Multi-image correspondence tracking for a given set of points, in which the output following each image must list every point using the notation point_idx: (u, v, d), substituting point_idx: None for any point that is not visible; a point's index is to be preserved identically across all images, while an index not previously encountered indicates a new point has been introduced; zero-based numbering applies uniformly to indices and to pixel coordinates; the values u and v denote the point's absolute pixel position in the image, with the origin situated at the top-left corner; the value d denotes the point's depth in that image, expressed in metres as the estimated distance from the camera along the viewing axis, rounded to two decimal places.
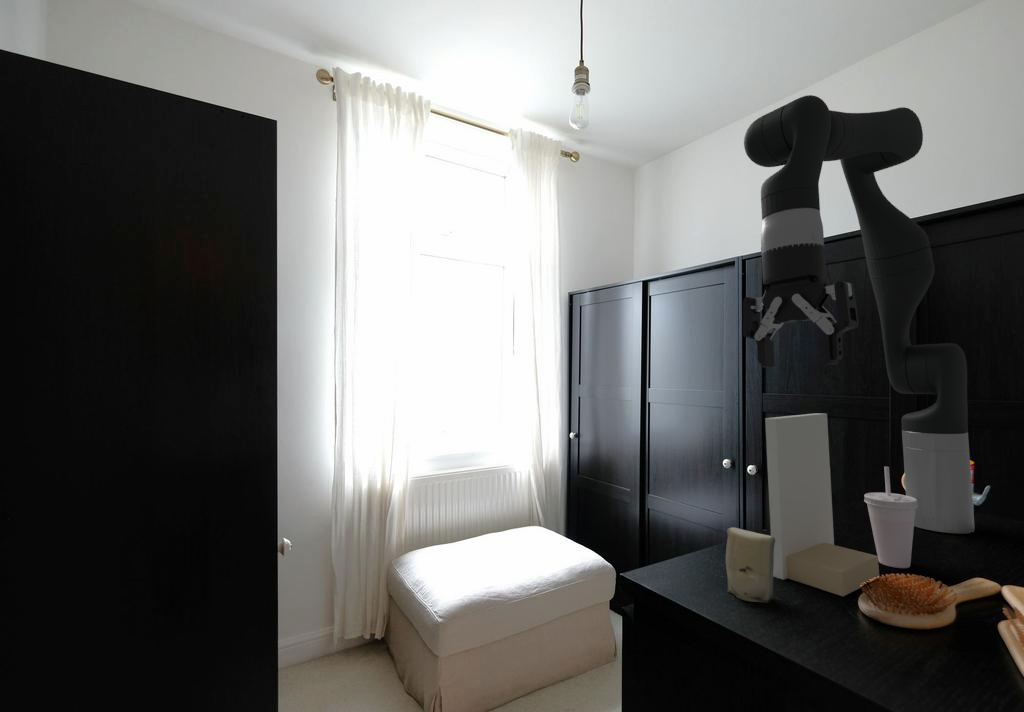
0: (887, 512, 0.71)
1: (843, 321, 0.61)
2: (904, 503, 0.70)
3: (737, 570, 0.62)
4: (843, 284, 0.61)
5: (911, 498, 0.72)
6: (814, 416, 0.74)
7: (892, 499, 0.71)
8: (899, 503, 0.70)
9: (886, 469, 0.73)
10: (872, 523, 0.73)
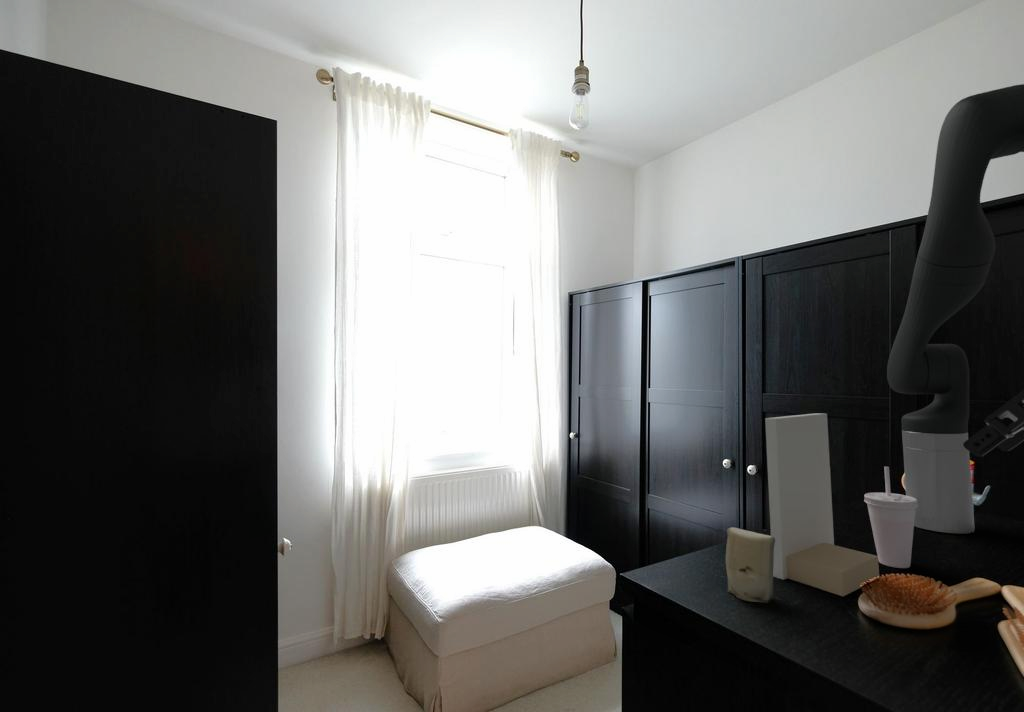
0: (887, 512, 0.71)
1: None
2: (904, 503, 0.70)
3: (737, 570, 0.62)
4: None
5: (911, 498, 0.72)
6: (814, 416, 0.74)
7: (892, 499, 0.71)
8: (899, 503, 0.70)
9: (886, 469, 0.73)
10: (872, 523, 0.73)
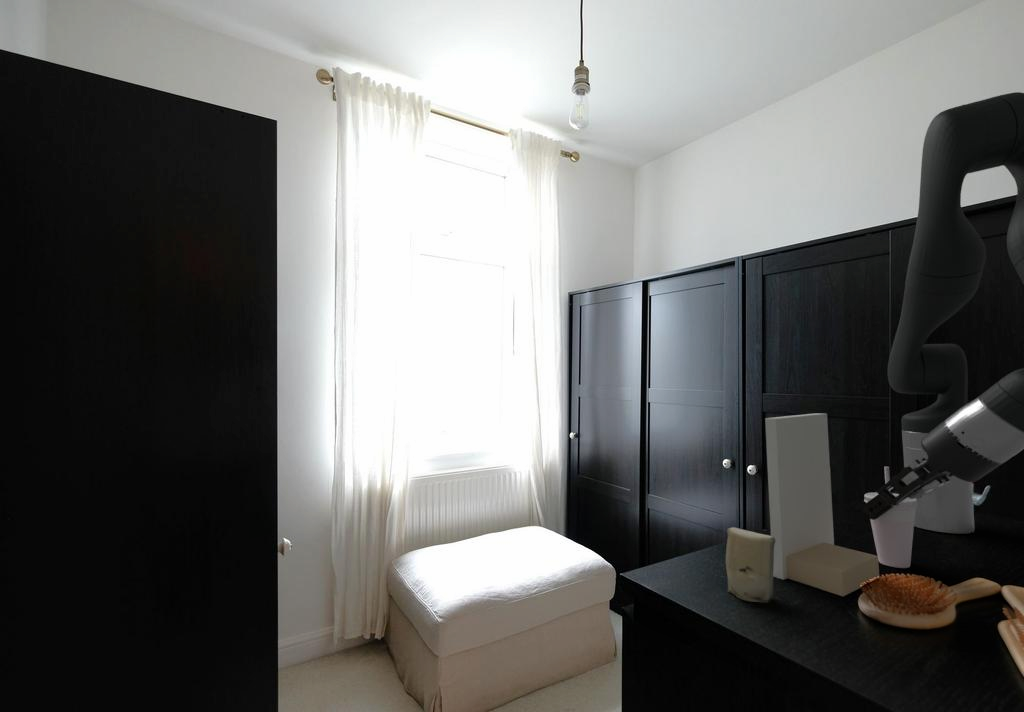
0: (887, 512, 0.71)
1: None
2: (904, 503, 0.70)
3: (737, 570, 0.62)
4: None
5: None
6: (814, 416, 0.74)
7: None
8: (899, 503, 0.70)
9: (886, 469, 0.73)
10: (872, 523, 0.73)
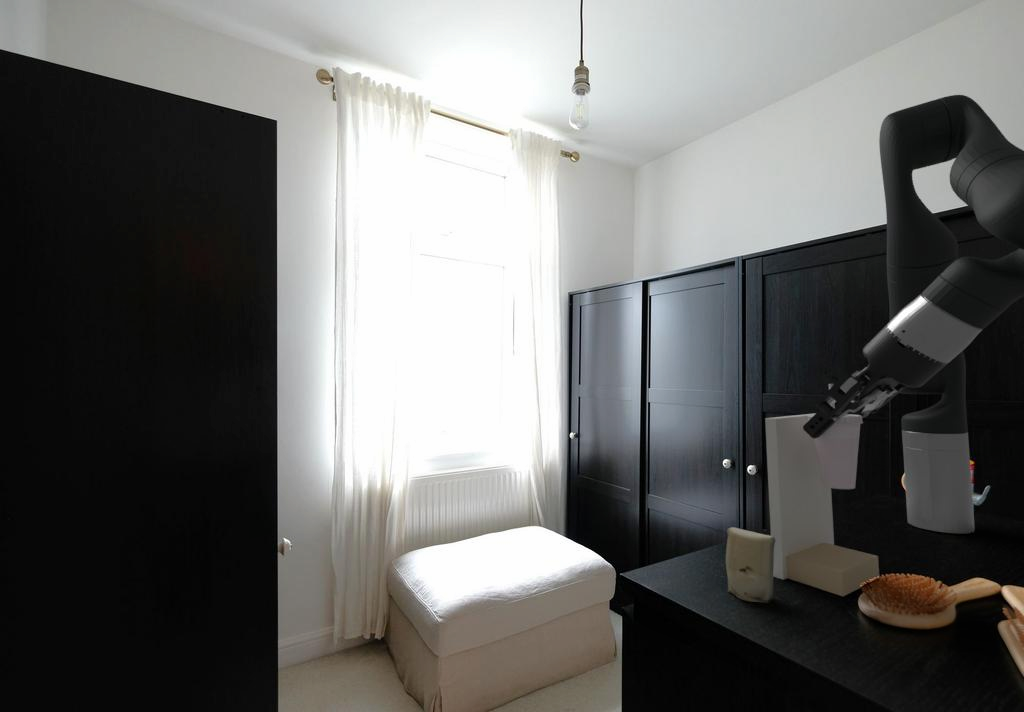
0: (829, 430, 0.66)
1: (876, 410, 0.68)
2: (847, 418, 0.65)
3: (737, 570, 0.62)
4: (906, 386, 0.66)
5: (856, 415, 0.67)
6: None
7: None
8: (842, 418, 0.65)
9: (830, 386, 0.68)
10: (816, 443, 0.68)
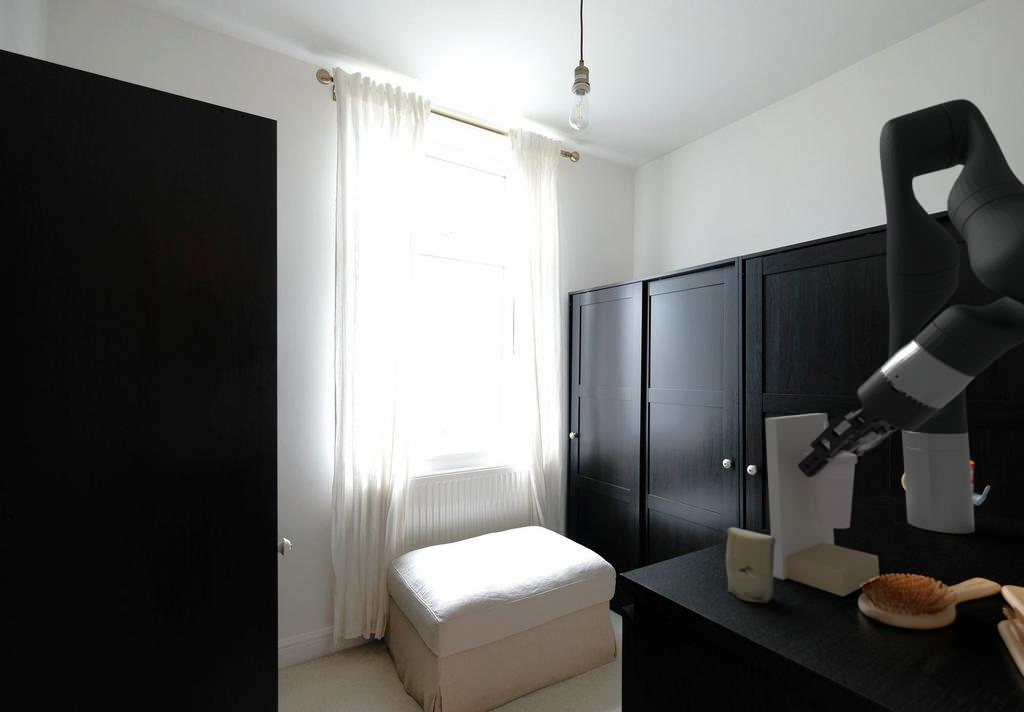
0: (824, 469, 0.66)
1: (871, 448, 0.69)
2: (841, 458, 0.65)
3: (737, 570, 0.62)
4: None
5: (851, 454, 0.67)
6: (814, 416, 0.74)
7: None
8: (836, 458, 0.65)
9: (826, 424, 0.69)
10: (811, 482, 0.68)
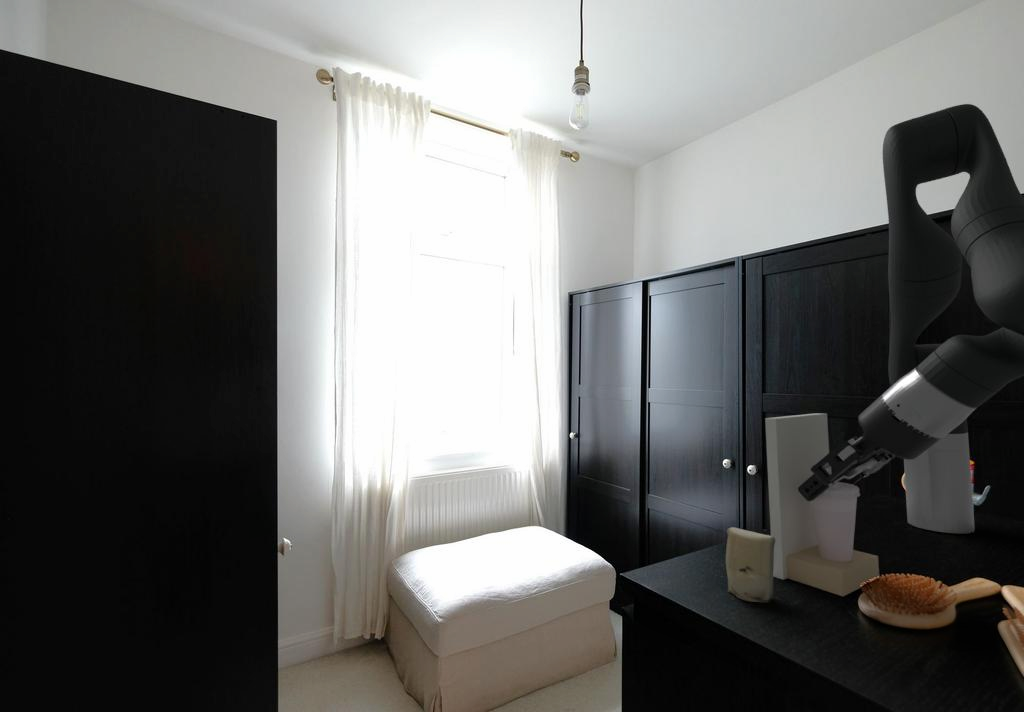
0: (826, 502, 0.66)
1: (877, 470, 0.69)
2: (844, 492, 0.65)
3: (737, 570, 0.62)
4: None
5: (853, 486, 0.67)
6: (814, 416, 0.74)
7: (832, 488, 0.66)
8: (838, 492, 0.65)
9: None
10: (813, 513, 0.68)
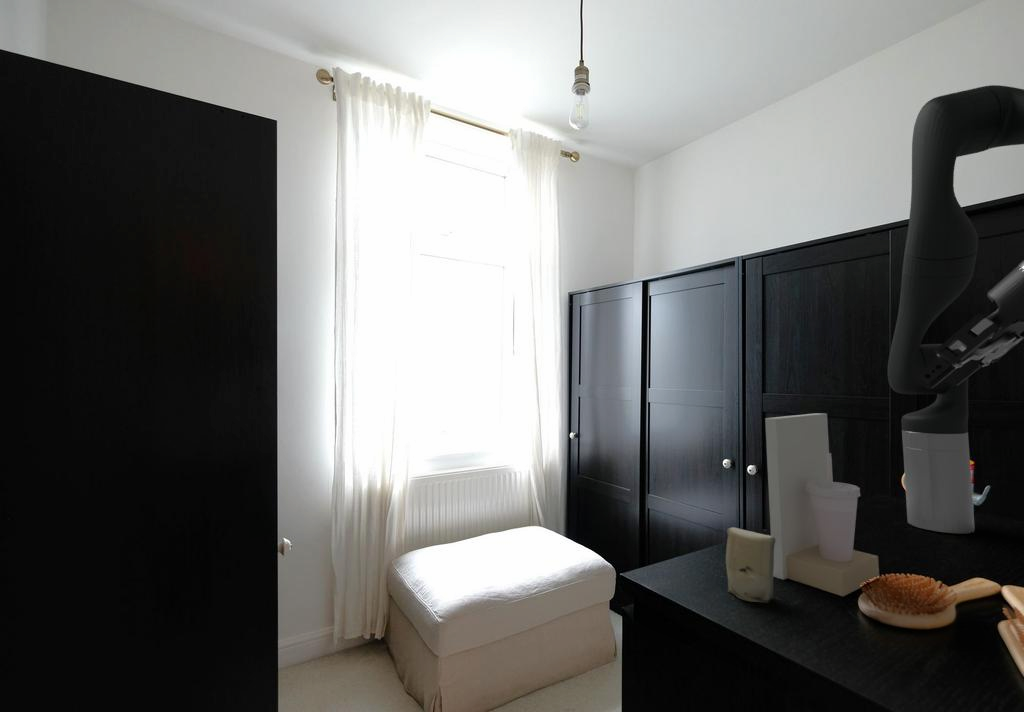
0: (827, 502, 0.66)
1: (997, 358, 0.64)
2: (844, 491, 0.65)
3: (737, 570, 0.62)
4: None
5: (854, 487, 0.67)
6: (814, 416, 0.74)
7: (833, 487, 0.66)
8: (839, 491, 0.65)
9: (828, 456, 0.68)
10: (813, 513, 0.68)
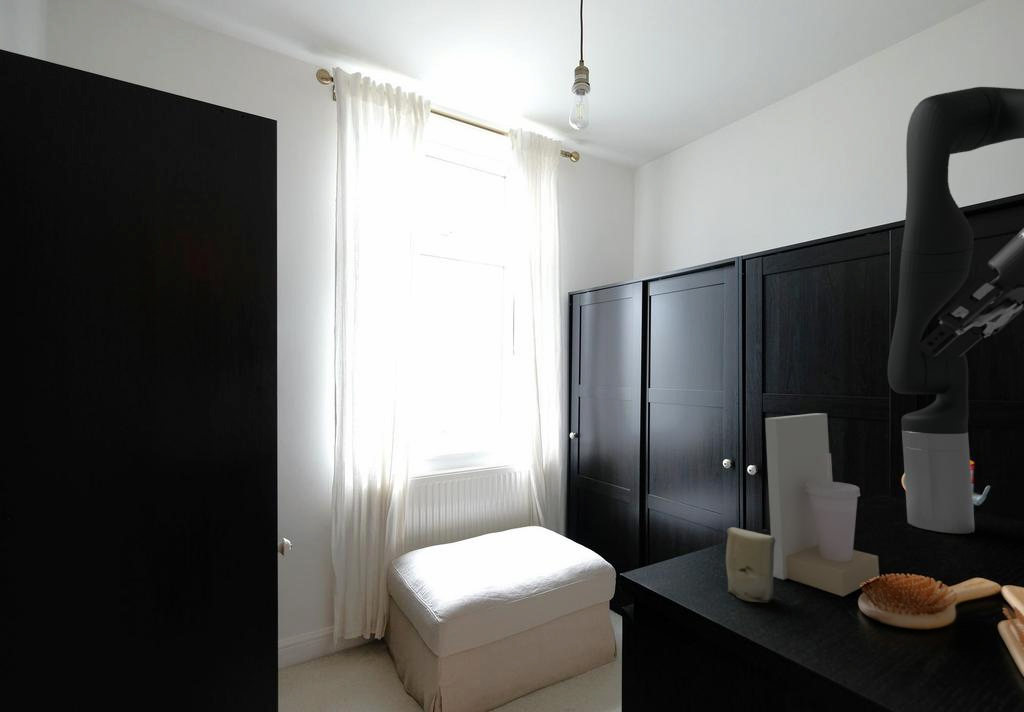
0: (827, 502, 0.66)
1: (999, 329, 0.66)
2: (844, 491, 0.65)
3: (737, 570, 0.62)
4: None
5: (854, 486, 0.67)
6: (814, 416, 0.74)
7: (832, 487, 0.66)
8: (839, 491, 0.65)
9: (828, 456, 0.68)
10: (813, 513, 0.68)
